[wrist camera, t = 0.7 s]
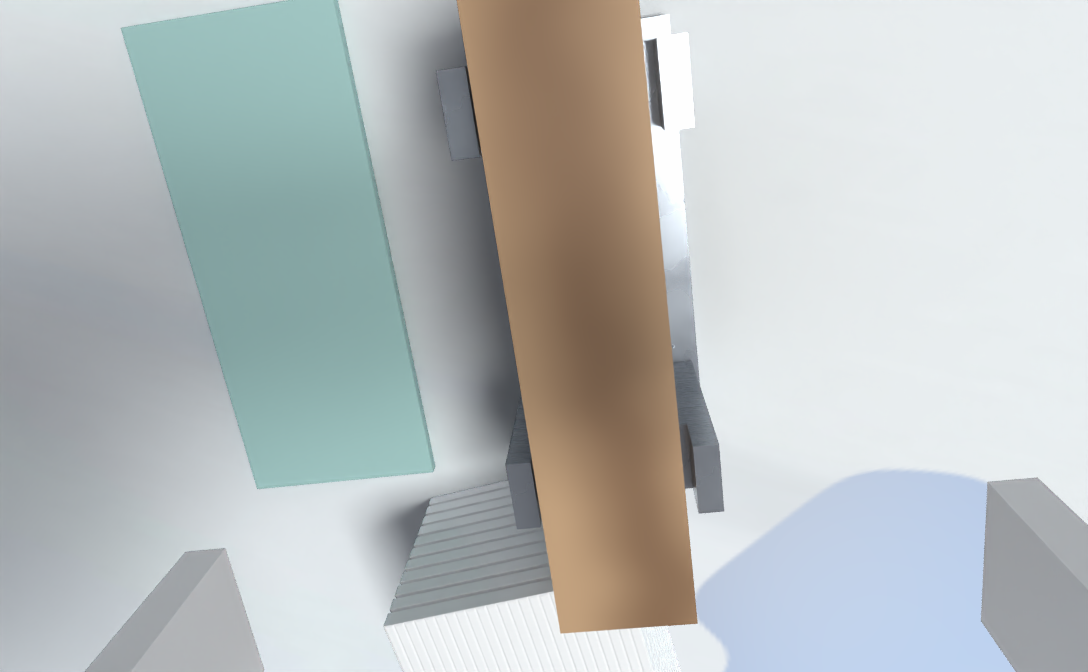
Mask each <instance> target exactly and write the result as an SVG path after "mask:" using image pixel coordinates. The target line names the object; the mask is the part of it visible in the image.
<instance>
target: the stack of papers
mask: <svg viewBox="0 0 1088 672" xmlns="http://www.w3.org/2000/svg"><path fill="white" fill-rule="evenodd" d="M425 514H426V516H425V517H424V519H423V522H422V527H420V530H419V532H418V537H417V538H416V540H415V543H414V548H413V549H412V551H411V554H410V556H409V558H410V560H408V562H407V564H406V567H405V571H406V572H405V573H403V575H402V578H401V581H400V584H401V585H399V586H398V589H397V591H396V594H395V597H396V599H393V602H392V605H391V607H390V612H391V613H389V614H388V615H387V618H386V621H385V623H384V626H383V627H384V629H385V632H386V634H387V636H388V639H389V641H390V643H391V646H392V648H393V650H394V653H395V655H396V657H397V659H398V662H399V664H400V666H401V669H402V671H403V672H681V669H680V666H679V663H678V659H677V656H676V652H675V649H674V646H673V642H672V639H671V635H670V632H669V629H668V626H658V627H644V628H630V629H617V630H603V631H590V632H576V633H562V634H560V628H559V622H558V615H557V609H556V603H555V597H554V591H553V585H552V579H551V573H550V567H549V560H548V554H547V548H546V542H545V536H544V530H543V524H542V523H541V527H540V528H529V529H518V530H517V527H516V521H515V516H514V510H513V504H512V499H511V493H510V487H509V482H508V480H506V481H502V482H497V483H493V484H489V485H485V486H480V487H476V488H472V489H467V490H463V491H459V492H454V493H450V494H446V495H441V496H437V497H433V498H431V500H430V503H429V507H428V508H427V511H426V513H425Z"/></svg>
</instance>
